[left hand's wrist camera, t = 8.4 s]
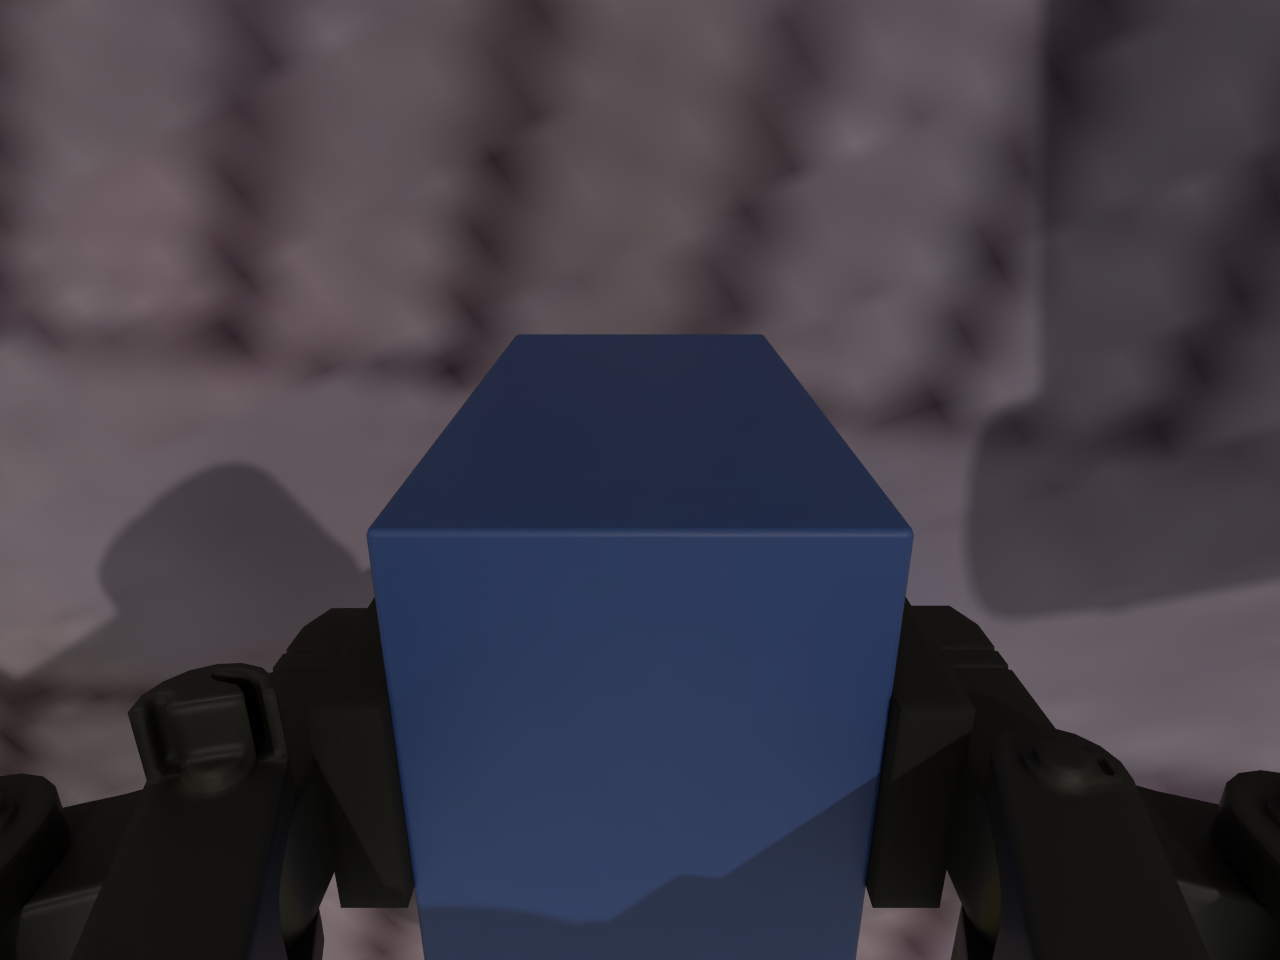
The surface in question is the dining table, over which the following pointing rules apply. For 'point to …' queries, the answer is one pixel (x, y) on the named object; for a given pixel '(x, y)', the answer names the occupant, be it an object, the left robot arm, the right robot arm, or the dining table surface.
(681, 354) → the block
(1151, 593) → the dining table surface
